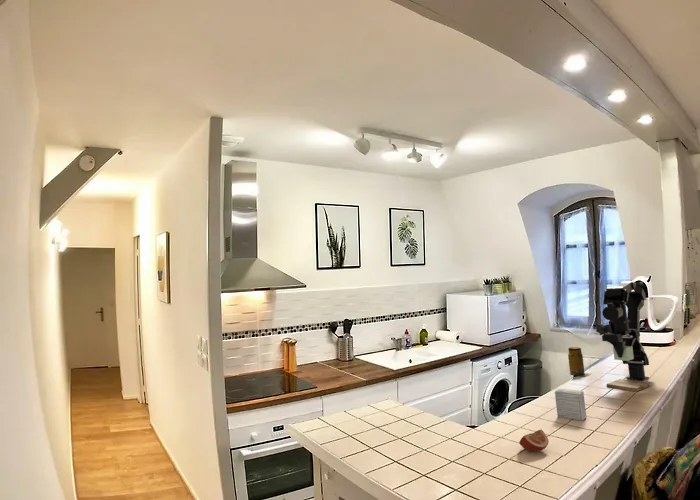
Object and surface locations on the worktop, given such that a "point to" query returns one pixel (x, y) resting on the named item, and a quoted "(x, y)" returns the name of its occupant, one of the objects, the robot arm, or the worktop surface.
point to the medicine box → (570, 404)
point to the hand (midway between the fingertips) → (623, 356)
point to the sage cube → (625, 354)
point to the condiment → (576, 362)
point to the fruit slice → (534, 441)
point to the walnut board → (628, 385)
